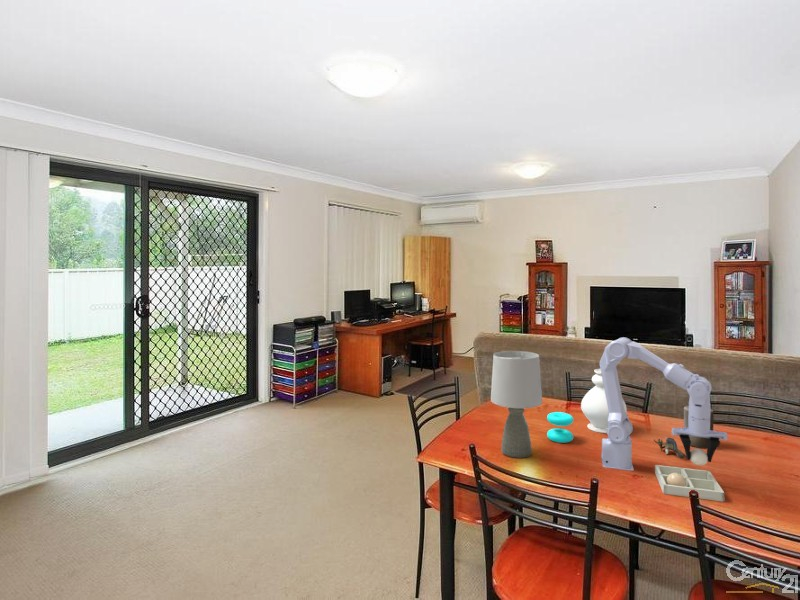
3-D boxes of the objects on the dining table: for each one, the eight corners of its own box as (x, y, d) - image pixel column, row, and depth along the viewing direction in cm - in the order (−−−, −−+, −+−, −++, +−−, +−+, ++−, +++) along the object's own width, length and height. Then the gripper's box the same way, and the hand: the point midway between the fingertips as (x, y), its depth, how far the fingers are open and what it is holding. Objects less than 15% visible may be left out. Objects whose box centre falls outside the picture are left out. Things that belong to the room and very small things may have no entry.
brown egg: (668, 492, 139) (668, 475, 138) (665, 484, 143) (665, 469, 143) (687, 494, 137) (687, 478, 137) (683, 487, 142) (684, 471, 141)
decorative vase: (634, 435, 187) (635, 374, 186) (590, 435, 188) (590, 375, 186) (615, 421, 205) (615, 365, 204) (574, 421, 206) (575, 366, 204)
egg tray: (663, 494, 138) (663, 485, 138) (654, 473, 152) (655, 464, 152) (724, 503, 132) (724, 492, 132) (709, 480, 147) (709, 470, 147)
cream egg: (691, 466, 143) (691, 451, 142) (687, 460, 147) (687, 445, 147) (710, 468, 141) (710, 452, 141) (705, 462, 146) (705, 447, 145)
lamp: (548, 449, 175) (548, 352, 173) (532, 466, 159) (532, 361, 157) (502, 439, 185) (501, 349, 183) (483, 455, 170) (482, 356, 168)
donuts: (555, 409, 191) (578, 415, 183) (555, 433, 192) (578, 439, 184) (542, 414, 185) (564, 420, 177) (542, 439, 185) (564, 445, 178)
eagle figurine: (651, 449, 169) (675, 453, 162) (654, 431, 172) (678, 434, 164) (663, 457, 172) (687, 461, 164) (667, 439, 174) (691, 442, 167)
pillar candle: (718, 449, 172) (718, 409, 171) (689, 447, 174) (689, 408, 173) (706, 440, 181) (707, 402, 180) (679, 438, 183) (679, 401, 182)
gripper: (722, 415, 144) (721, 457, 145) (670, 411, 150) (669, 452, 150) (730, 422, 138) (729, 466, 139) (674, 417, 143) (673, 460, 144)
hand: (698, 459), depth 144 cm, fingers closed on cream egg, 5 cm apart
